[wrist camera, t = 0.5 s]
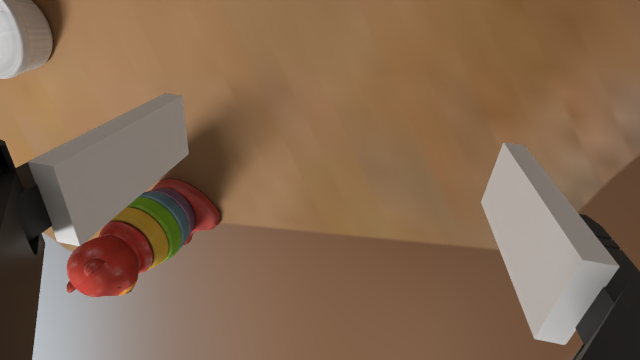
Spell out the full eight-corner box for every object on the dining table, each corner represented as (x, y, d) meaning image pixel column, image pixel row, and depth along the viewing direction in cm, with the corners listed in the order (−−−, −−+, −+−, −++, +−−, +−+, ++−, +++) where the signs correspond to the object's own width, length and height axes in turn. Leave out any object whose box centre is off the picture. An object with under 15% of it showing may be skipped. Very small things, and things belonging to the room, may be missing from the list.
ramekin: (17, -37, 44) (-31, -44, 39) (76, 46, 47) (38, 48, 42) (-23, 14, 49) (-70, 13, 44) (33, 87, 51) (-6, 94, 47)
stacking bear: (180, 247, 56) (87, 334, 41) (138, 196, 54) (23, 267, 39) (226, 219, 52) (142, 305, 36) (182, 163, 50) (72, 228, 34)
